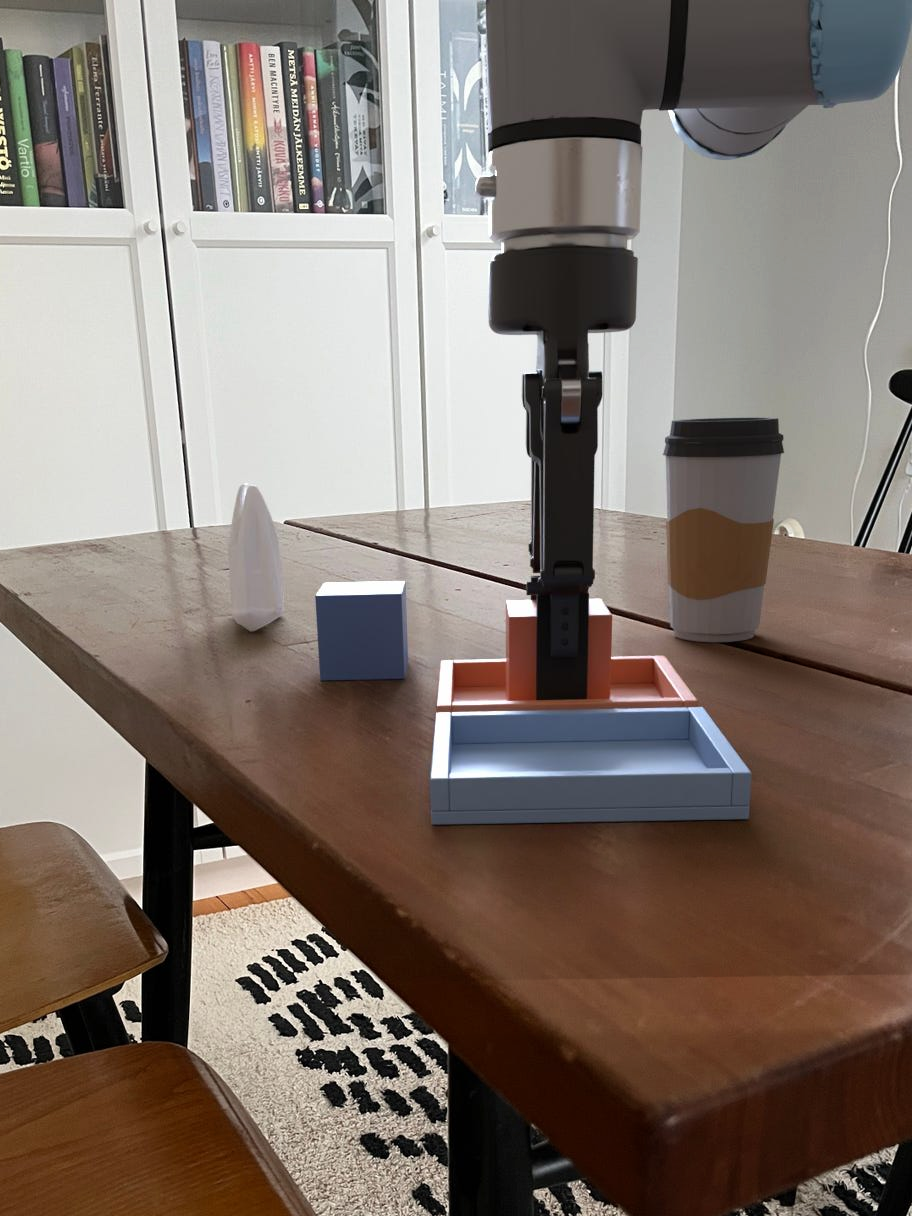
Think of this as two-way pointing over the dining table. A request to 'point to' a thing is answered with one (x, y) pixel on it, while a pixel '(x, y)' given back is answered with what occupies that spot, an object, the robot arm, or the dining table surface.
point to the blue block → (362, 630)
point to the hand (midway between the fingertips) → (557, 699)
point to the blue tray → (584, 767)
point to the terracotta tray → (629, 688)
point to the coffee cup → (719, 523)
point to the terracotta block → (524, 650)
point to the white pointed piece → (254, 562)
